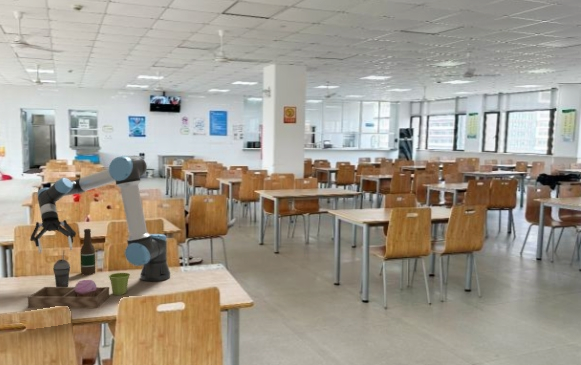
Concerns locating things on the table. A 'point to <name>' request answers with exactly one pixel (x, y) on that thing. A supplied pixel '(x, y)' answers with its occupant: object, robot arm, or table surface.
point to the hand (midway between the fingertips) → (56, 249)
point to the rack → (66, 298)
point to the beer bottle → (87, 254)
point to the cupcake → (85, 288)
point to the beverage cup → (61, 272)
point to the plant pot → (119, 282)
